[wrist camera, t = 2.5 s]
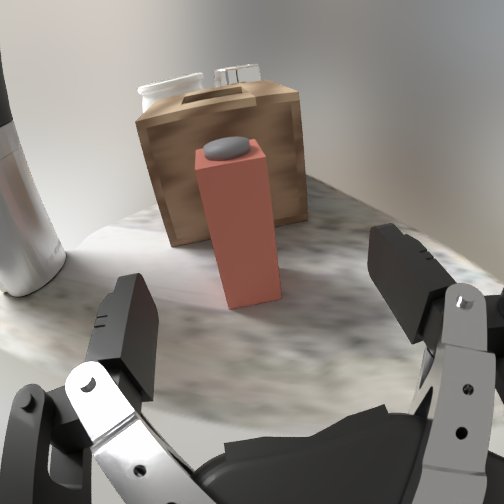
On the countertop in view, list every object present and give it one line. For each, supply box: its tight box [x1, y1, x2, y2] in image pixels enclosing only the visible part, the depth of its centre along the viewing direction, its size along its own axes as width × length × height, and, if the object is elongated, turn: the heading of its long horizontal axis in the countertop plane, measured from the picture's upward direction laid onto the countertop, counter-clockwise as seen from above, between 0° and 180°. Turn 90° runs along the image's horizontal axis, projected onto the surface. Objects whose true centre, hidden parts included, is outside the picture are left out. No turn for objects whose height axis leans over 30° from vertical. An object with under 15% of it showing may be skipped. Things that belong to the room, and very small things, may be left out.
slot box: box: [135, 80, 308, 247], centre depth 33 cm, size 14×14×13 cm
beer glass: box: [214, 64, 262, 88], centre depth 44 cm, size 7×7×15 cm
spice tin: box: [195, 137, 282, 309], centre depth 22 cm, size 4×4×12 cm
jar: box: [138, 73, 204, 113], centre depth 46 cm, size 11×10×15 cm
